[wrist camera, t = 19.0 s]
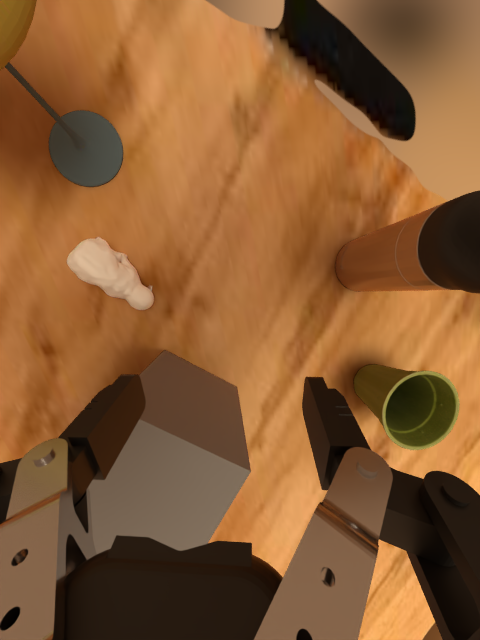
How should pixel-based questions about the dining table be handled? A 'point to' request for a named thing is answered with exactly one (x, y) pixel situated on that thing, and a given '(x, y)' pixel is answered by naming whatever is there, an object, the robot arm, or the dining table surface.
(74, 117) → the cocktail glass
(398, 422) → the plant pot
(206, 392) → the shelf
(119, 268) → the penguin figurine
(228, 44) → the dining table surface
